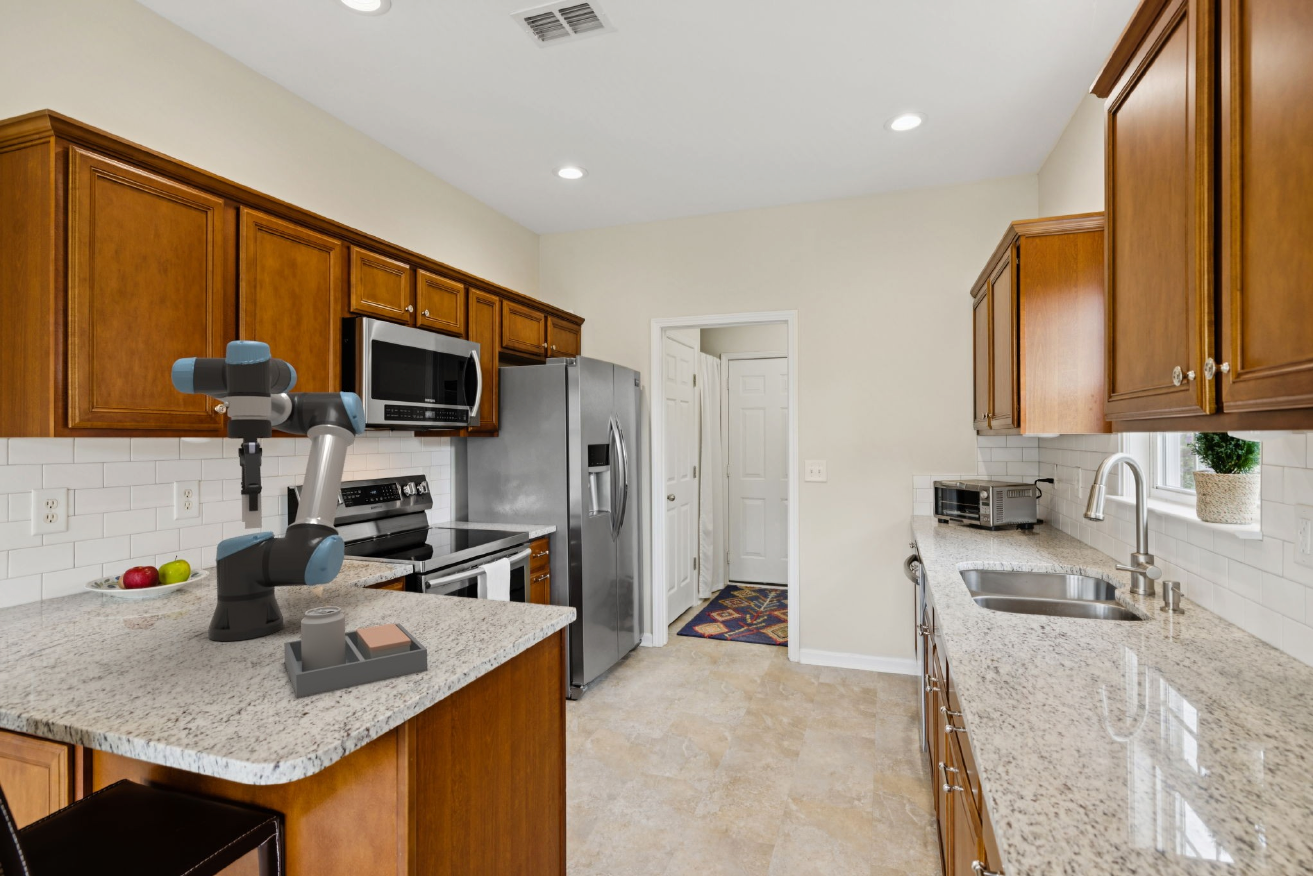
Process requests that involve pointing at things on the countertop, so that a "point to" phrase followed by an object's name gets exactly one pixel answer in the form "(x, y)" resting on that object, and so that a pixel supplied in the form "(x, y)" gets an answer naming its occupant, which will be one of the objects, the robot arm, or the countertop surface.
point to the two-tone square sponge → (382, 641)
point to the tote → (352, 667)
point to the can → (323, 638)
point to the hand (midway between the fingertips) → (251, 524)
